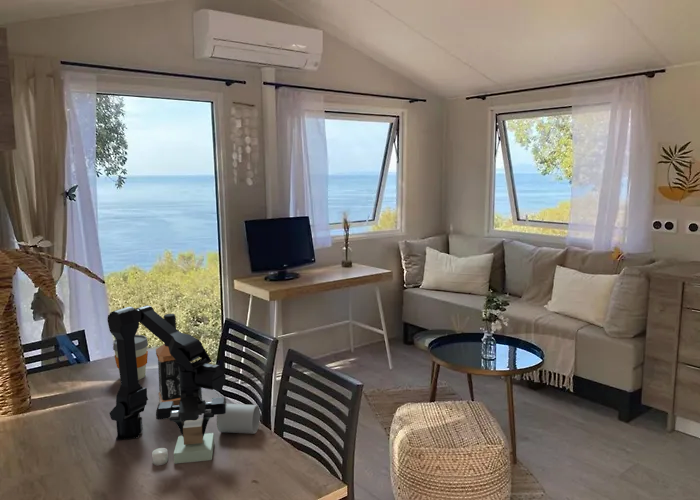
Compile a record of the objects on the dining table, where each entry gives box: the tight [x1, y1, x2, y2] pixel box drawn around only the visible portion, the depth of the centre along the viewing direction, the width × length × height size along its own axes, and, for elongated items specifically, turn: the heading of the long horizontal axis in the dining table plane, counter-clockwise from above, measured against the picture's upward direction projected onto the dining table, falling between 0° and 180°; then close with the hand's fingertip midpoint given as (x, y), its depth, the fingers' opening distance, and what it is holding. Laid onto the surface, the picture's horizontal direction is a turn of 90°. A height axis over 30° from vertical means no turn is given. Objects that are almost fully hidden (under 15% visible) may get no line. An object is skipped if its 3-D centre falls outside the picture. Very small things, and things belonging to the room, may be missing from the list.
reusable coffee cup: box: [112, 334, 149, 381], centre depth 214 cm, size 13×12×15 cm
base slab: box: [173, 432, 215, 465], centre depth 158 cm, size 10×10×3 cm
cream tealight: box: [151, 447, 169, 466], centre depth 153 cm, size 4×4×3 cm
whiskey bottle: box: [155, 313, 181, 405], centre depth 187 cm, size 10×10×32 cm
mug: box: [216, 402, 261, 435], centre depth 171 cm, size 12×8×11 cm
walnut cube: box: [183, 417, 204, 445], centre depth 157 cm, size 5×5×5 cm
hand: (193, 436), depth 157 cm, fingers closed on walnut cube, 5 cm apart
